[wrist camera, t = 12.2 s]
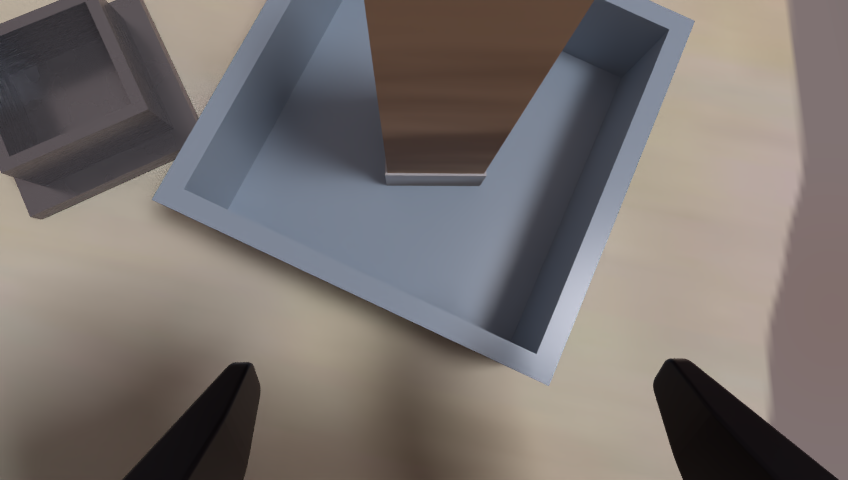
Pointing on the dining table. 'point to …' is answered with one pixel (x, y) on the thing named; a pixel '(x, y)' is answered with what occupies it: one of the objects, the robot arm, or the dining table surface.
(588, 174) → the bin
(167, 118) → the socket block
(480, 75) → the strut
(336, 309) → the dining table surface
